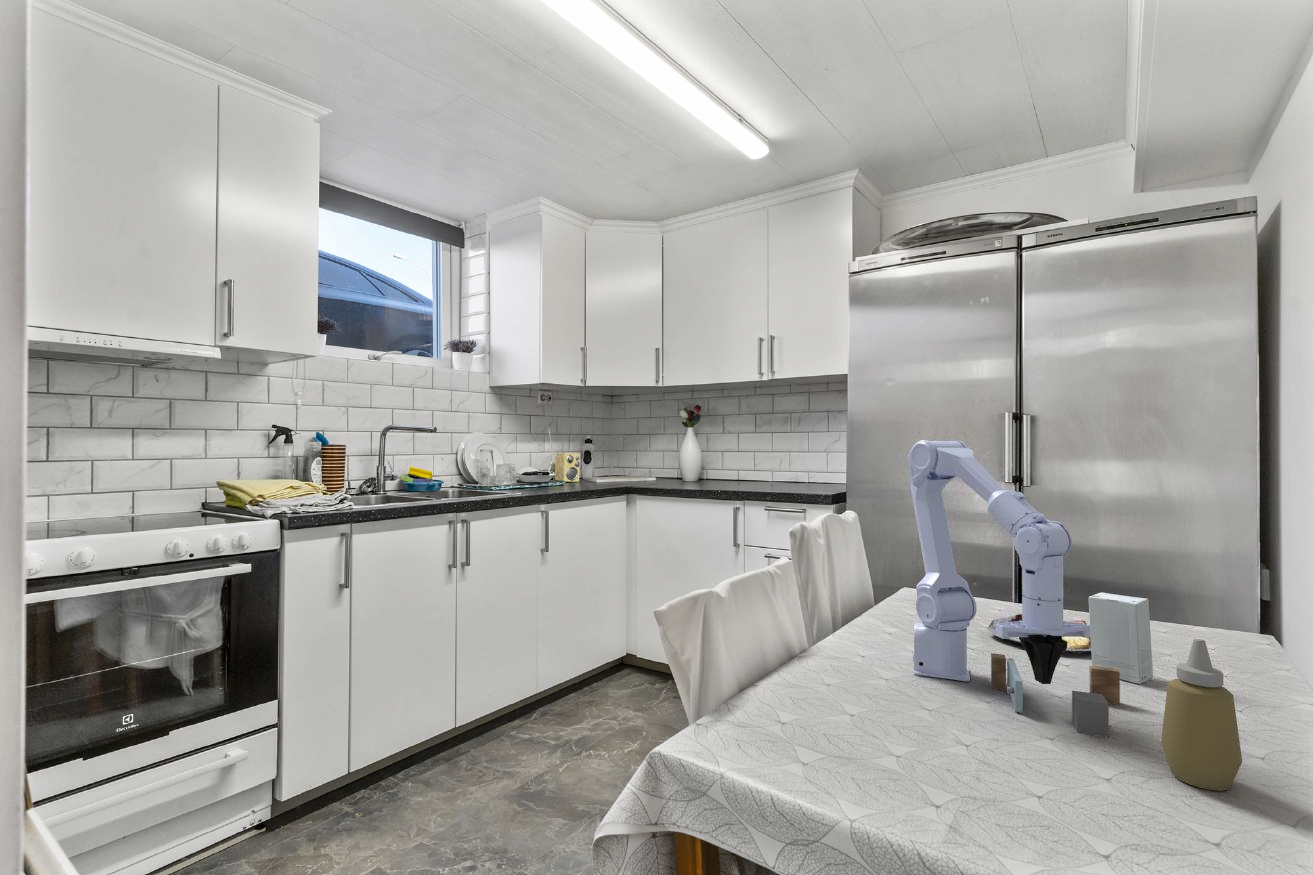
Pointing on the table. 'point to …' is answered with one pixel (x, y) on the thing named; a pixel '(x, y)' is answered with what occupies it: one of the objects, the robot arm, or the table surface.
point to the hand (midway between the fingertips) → (1042, 681)
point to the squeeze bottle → (1201, 724)
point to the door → (1014, 685)
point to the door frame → (1100, 679)
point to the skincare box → (1121, 635)
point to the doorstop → (1090, 713)
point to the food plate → (1072, 642)
